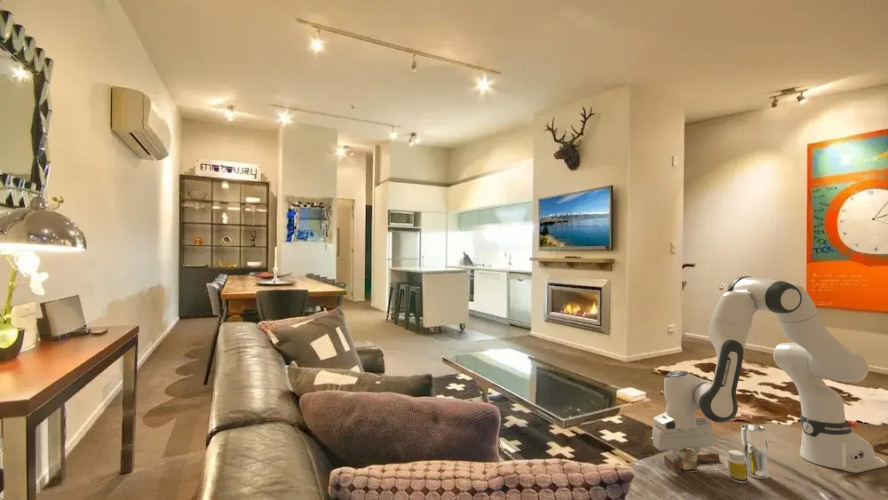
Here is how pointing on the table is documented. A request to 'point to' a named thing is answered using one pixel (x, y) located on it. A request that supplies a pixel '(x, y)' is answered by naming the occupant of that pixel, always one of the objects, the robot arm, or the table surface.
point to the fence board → (702, 457)
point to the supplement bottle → (737, 466)
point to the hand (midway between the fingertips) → (685, 460)
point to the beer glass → (755, 450)
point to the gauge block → (687, 458)
